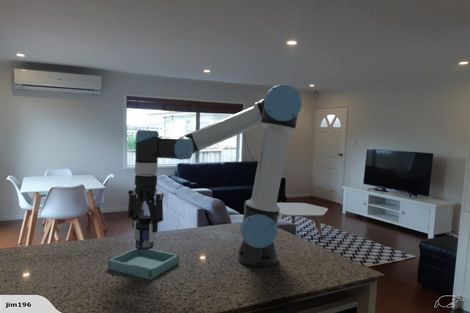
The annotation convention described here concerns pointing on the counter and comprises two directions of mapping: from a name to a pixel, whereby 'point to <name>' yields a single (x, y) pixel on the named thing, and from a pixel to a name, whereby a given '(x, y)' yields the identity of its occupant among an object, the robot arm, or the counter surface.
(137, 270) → the tray
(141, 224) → the pill bottle
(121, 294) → the counter surface
